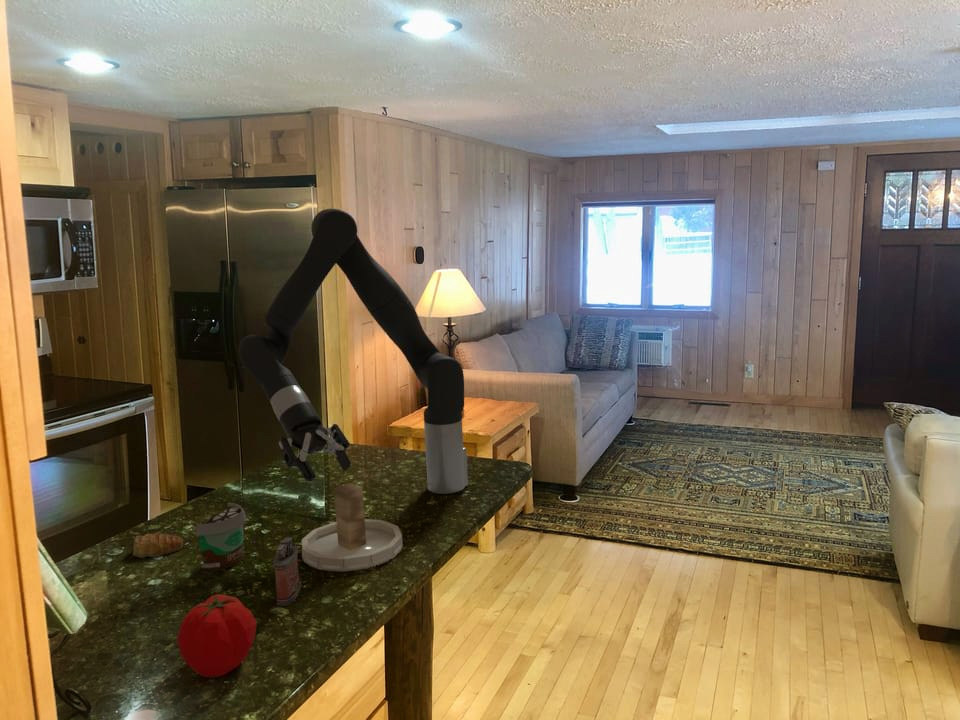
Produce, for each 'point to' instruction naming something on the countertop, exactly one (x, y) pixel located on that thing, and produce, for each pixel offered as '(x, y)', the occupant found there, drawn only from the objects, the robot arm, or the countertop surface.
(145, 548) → the pastry
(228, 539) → the food container
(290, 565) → the lighter
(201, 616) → the tomato
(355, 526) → the oak block
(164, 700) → the countertop surface
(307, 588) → the countertop surface
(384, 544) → the round dish
